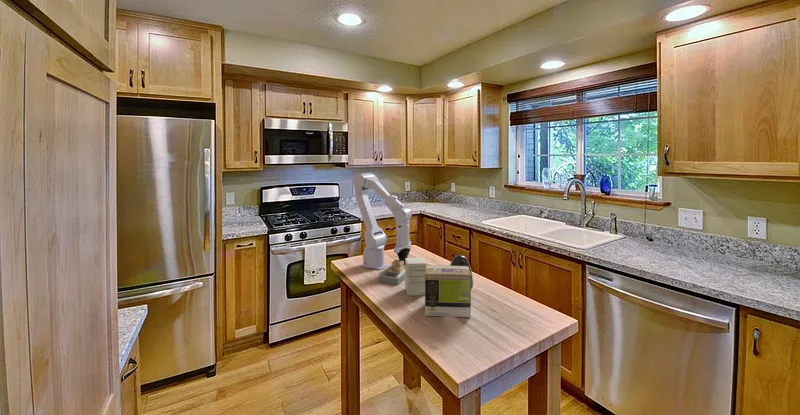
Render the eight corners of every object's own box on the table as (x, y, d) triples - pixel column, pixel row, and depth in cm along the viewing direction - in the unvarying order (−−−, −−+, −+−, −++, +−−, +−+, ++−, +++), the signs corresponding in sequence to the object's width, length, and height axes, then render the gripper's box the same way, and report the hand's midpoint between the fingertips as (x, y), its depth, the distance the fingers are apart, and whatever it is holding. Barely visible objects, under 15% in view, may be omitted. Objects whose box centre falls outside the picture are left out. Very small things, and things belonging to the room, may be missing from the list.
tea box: (468, 305, 128) (469, 265, 125) (470, 318, 118) (472, 275, 116) (425, 303, 129) (425, 263, 127) (424, 316, 119) (424, 273, 117)
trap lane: (378, 281, 151) (378, 273, 150) (402, 264, 172) (402, 257, 172) (398, 284, 147) (398, 276, 147) (419, 267, 169) (419, 260, 168)
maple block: (391, 271, 156) (391, 262, 155) (395, 268, 159) (395, 259, 159) (400, 272, 154) (400, 263, 154) (403, 269, 158) (403, 260, 157)
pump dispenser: (449, 300, 132) (450, 259, 130) (443, 289, 143) (443, 251, 140) (476, 298, 133) (477, 259, 131) (468, 288, 144) (469, 251, 141)
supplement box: (404, 288, 143) (404, 257, 141) (423, 287, 144) (423, 257, 142) (406, 295, 136) (406, 263, 134) (426, 295, 137) (426, 263, 135)
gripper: (404, 239, 152) (404, 270, 154) (417, 232, 165) (417, 261, 167) (389, 237, 154) (389, 268, 157) (403, 230, 167) (403, 259, 170)
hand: (402, 264), depth 162 cm, fingers closed
